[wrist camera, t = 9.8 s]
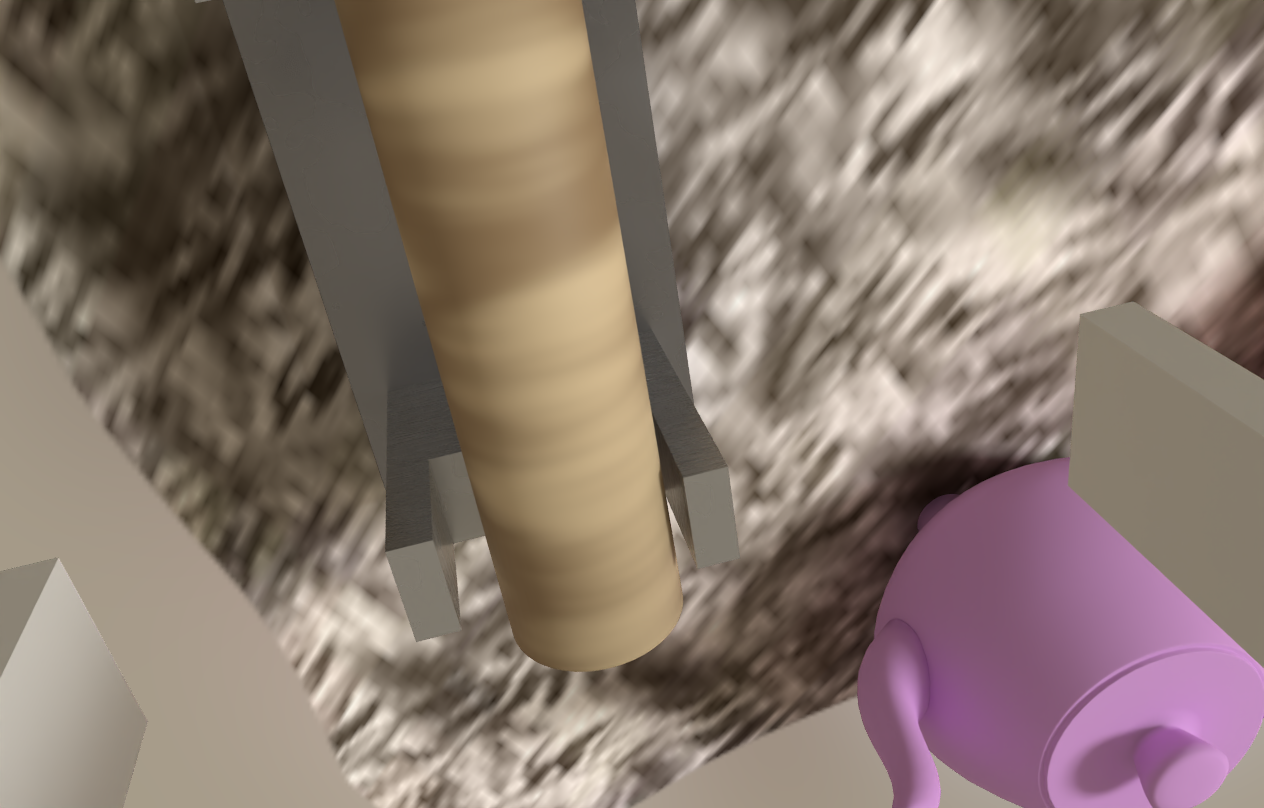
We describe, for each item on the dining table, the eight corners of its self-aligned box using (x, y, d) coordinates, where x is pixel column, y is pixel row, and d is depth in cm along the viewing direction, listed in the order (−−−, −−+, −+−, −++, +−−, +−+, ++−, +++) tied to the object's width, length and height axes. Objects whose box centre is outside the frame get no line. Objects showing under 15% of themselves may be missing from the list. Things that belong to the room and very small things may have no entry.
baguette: (224, -266, 20) (301, -318, 16) (458, -292, 22) (575, -345, 18) (483, 606, 30) (565, 700, 27) (622, 533, 32) (718, 610, 29)
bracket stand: (154, -225, 25) (31, -273, 17) (584, -297, 27) (676, -376, 18) (392, 495, 36) (392, 693, 28) (691, 422, 37) (781, 591, 29)
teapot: (753, 731, 45) (862, 992, 35) (760, 457, 39) (896, 679, 28) (1157, 655, 49) (1368, 873, 38) (1227, 391, 42) (1507, 567, 31)
